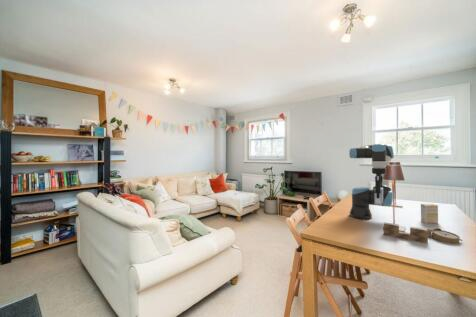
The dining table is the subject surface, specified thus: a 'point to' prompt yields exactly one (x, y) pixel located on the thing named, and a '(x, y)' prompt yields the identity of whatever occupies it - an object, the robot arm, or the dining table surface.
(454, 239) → the alarm clock
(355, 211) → the robot arm
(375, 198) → the slotted blue block
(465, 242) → the dining table surface
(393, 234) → the walnut rail
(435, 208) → the supplement box
